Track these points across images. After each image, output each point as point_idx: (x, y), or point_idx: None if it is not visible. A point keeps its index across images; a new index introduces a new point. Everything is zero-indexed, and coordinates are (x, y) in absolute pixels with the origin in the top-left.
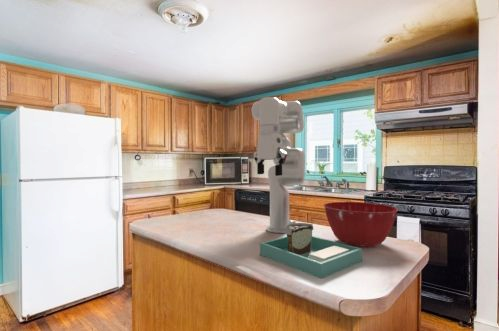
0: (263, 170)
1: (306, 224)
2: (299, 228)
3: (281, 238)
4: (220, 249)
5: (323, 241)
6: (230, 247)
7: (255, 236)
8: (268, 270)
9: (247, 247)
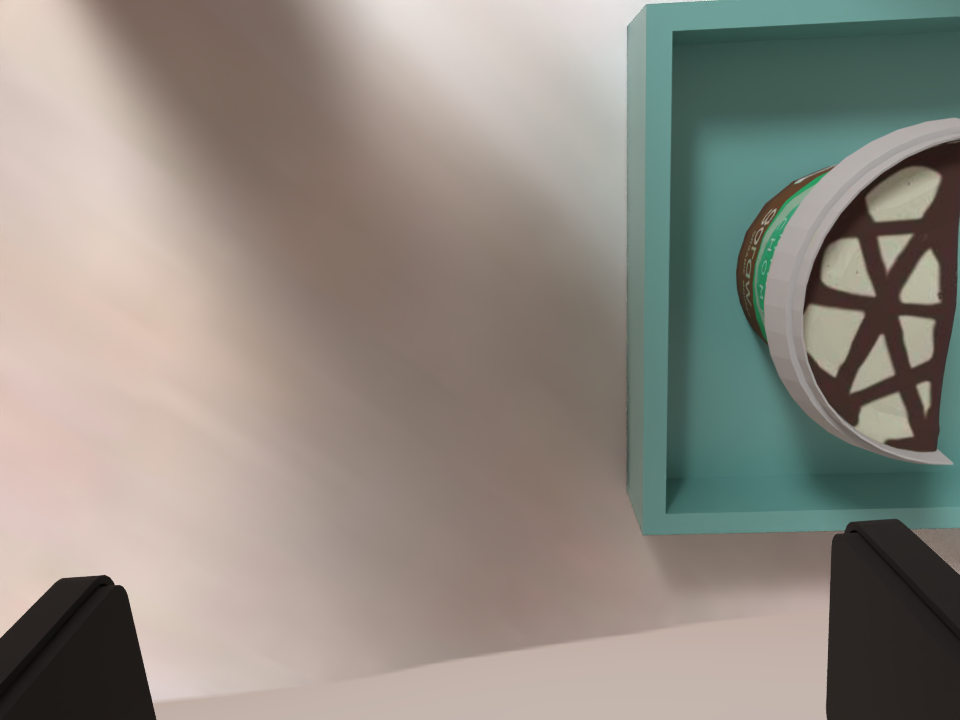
0: (76, 661)
1: (907, 155)
2: (945, 334)
3: (659, 311)
4: (322, 600)
5: (940, 19)
6: (322, 523)
7: (161, 174)
8: None
9: (395, 427)
